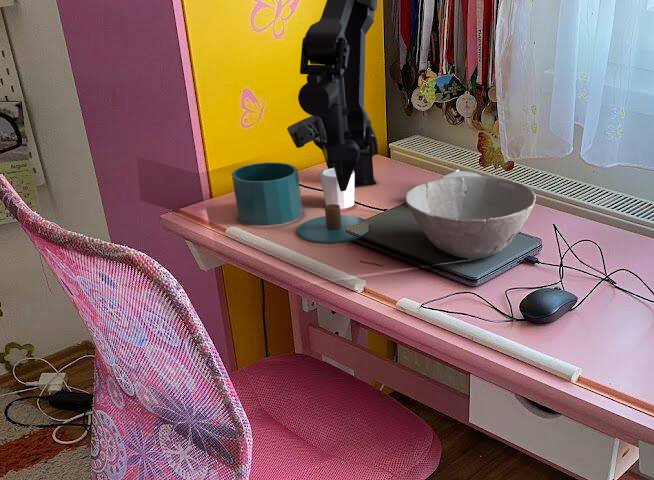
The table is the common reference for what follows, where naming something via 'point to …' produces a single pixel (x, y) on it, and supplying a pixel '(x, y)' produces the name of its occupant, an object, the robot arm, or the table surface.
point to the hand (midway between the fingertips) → (338, 183)
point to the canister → (267, 193)
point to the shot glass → (336, 189)
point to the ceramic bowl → (471, 213)
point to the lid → (330, 227)
